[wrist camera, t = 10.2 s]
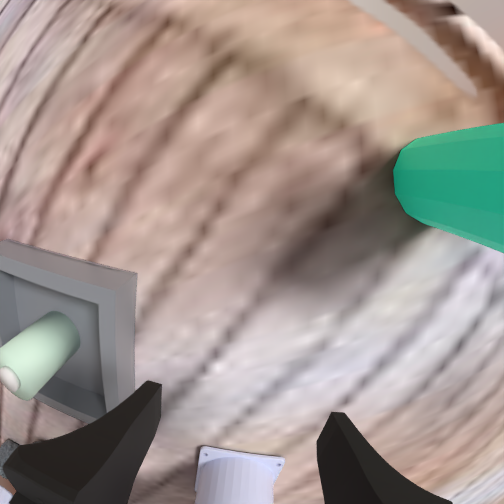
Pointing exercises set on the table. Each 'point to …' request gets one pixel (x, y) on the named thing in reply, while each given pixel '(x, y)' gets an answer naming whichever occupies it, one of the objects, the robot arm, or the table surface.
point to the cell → (37, 354)
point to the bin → (83, 317)
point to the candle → (456, 183)
